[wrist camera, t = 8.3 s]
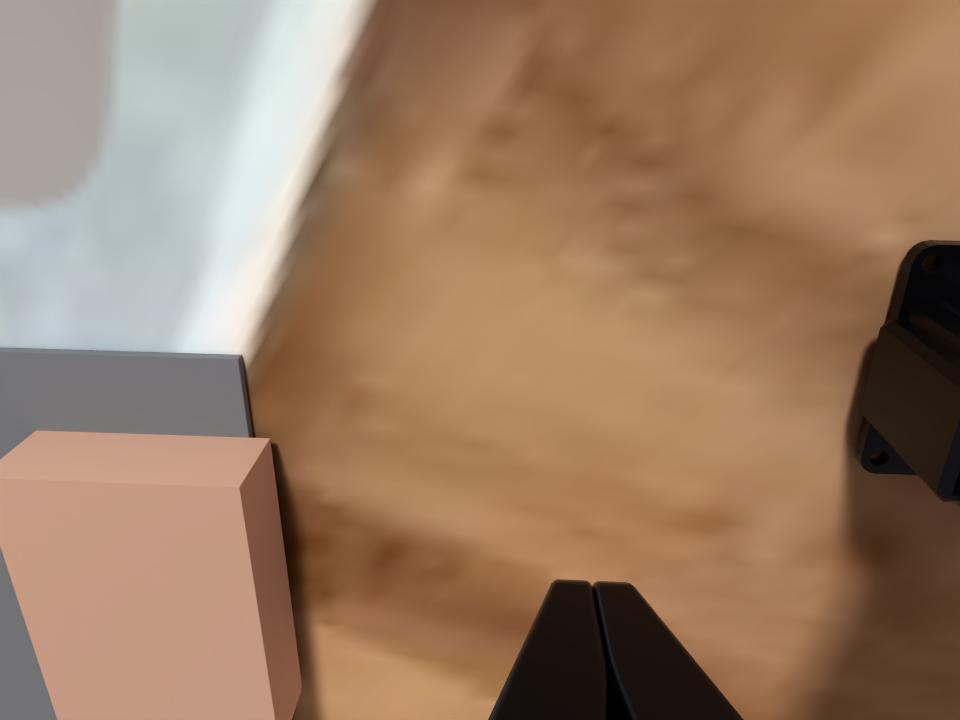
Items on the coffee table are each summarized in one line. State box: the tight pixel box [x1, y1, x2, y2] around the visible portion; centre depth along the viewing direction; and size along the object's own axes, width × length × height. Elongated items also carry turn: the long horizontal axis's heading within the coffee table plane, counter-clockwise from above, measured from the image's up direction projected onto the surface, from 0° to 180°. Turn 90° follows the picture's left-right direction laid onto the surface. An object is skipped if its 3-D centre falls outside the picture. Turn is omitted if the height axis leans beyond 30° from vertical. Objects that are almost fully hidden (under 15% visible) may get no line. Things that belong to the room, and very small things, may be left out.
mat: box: [0, 348, 253, 720], centre depth 23 cm, size 12×15×1 cm
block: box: [0, 430, 302, 720], centre depth 22 cm, size 2×10×7 cm
